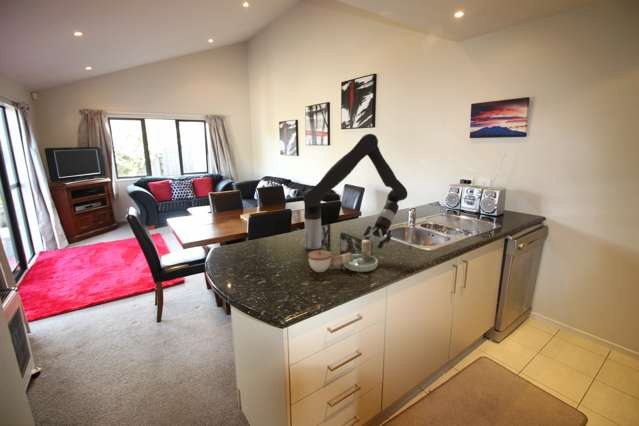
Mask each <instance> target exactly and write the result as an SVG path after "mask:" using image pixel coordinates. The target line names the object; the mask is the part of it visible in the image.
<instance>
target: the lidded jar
mask: <svg viewBox="0 0 639 426" xmlns="http://www.w3.org/2000/svg"><path fill="white" fill-rule="evenodd" d="M307 256H308V264H309V267H310V268H311V269H312V270H313V271H314V272H316V273H324V272H325V271H327V270H328V268H330V266H331V264H332V262H331V258H332V252H330V251H328V250H323V249H322V250H321V249H315V250H311V251H310V252H308V255H307Z"/></svg>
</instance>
